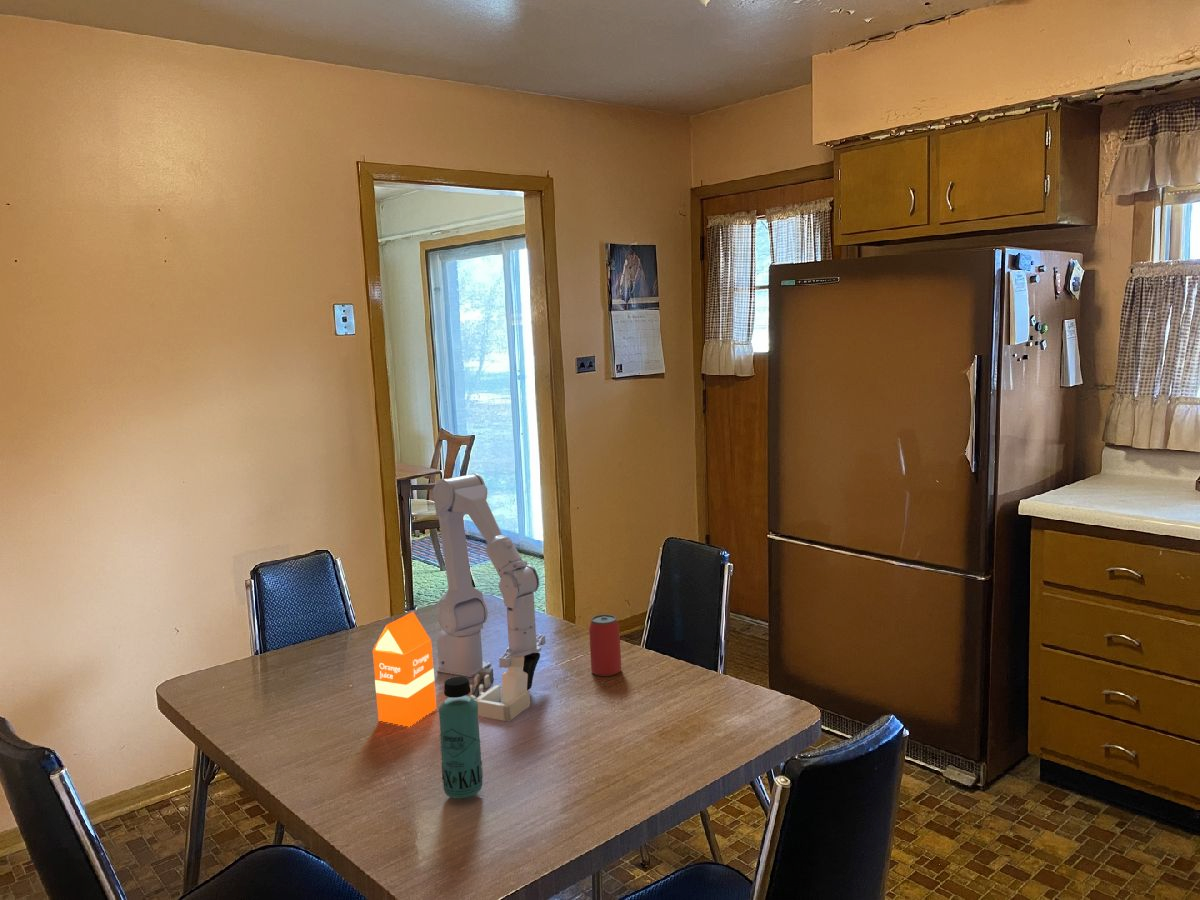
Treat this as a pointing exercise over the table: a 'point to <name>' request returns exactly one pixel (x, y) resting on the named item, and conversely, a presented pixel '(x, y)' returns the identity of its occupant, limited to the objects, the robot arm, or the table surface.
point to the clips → (481, 687)
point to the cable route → (483, 673)
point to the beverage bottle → (460, 740)
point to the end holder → (501, 704)
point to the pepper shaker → (514, 680)
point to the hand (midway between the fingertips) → (525, 688)
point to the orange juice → (404, 672)
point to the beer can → (605, 645)
